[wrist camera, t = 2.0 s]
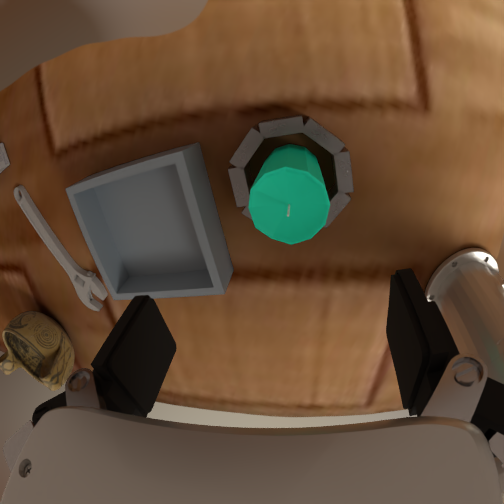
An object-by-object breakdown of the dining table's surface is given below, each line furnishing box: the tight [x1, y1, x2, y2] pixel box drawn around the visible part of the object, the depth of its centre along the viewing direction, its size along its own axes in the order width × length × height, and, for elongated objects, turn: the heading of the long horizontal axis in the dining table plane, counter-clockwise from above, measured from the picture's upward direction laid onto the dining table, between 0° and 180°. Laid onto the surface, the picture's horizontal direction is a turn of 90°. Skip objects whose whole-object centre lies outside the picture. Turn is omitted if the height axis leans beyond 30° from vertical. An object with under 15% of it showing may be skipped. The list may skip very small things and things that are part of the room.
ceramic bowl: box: [0, 311, 74, 391], centre depth 46 cm, size 22×17×15 cm
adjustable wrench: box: [14, 185, 108, 311], centre depth 39 cm, size 25×6×2 cm, turn 28°
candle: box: [248, 144, 330, 245], centre depth 25 cm, size 6×6×12 cm
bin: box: [66, 142, 234, 300], centre depth 33 cm, size 16×16×5 cm
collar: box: [228, 115, 354, 232], centre depth 29 cm, size 12×12×3 cm
